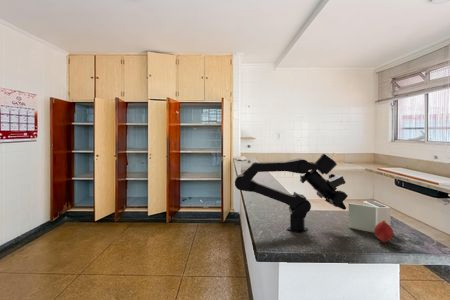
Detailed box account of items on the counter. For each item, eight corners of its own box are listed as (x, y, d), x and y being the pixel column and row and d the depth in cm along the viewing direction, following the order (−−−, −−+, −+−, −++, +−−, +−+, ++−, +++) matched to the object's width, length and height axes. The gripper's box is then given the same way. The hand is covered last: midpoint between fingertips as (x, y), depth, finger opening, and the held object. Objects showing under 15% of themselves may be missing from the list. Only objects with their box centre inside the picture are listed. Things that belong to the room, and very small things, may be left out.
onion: (370, 239, 98) (370, 218, 98) (385, 238, 98) (385, 217, 98) (381, 245, 92) (381, 222, 92) (397, 244, 92) (397, 222, 92)
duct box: (377, 233, 104) (377, 207, 104) (363, 224, 115) (363, 200, 115) (390, 232, 104) (390, 206, 104) (374, 223, 115) (374, 200, 115)
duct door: (375, 232, 104) (375, 207, 103) (348, 227, 111) (348, 203, 110) (376, 232, 104) (376, 206, 104) (349, 226, 111) (349, 203, 111)
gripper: (342, 171, 99) (371, 199, 99) (323, 166, 118) (348, 190, 118) (321, 192, 99) (350, 221, 100) (305, 184, 118) (330, 208, 118)
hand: (345, 208), depth 109 cm, fingers closed
